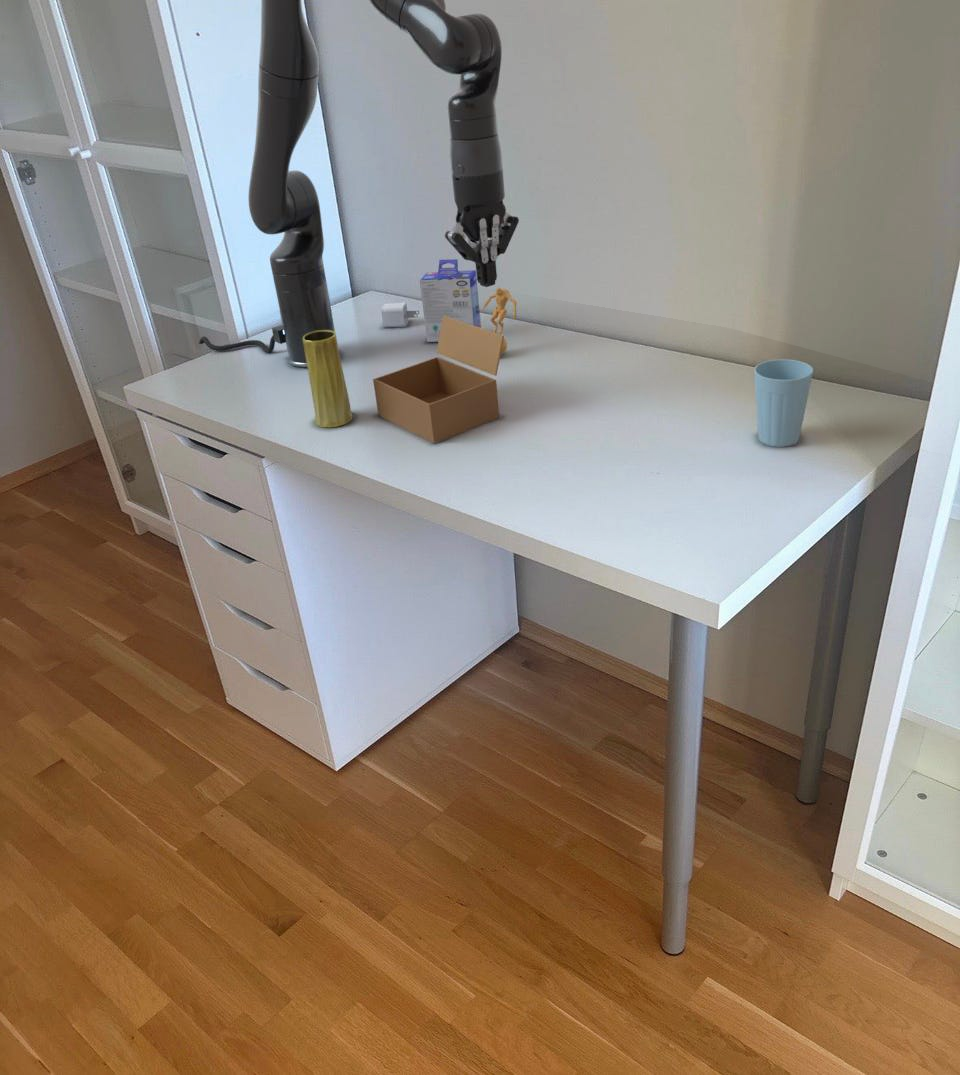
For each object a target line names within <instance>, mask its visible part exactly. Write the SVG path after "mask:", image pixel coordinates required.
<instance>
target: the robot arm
mask: <svg viewBox="0 0 960 1075" xmlns="http://www.w3.org/2000/svg"><path fill="white" fill-rule="evenodd" d="M367 2H368V3H369V5H371V7H372V8H373V9H374V10H375V11H376V12H377V13H378V14H379V15H381V16H382V17H383V18H384V19H385V20H386V21H388V22H389V23H391V24H392V25H393V26H395V27H396V28H397V29H399V30H400V31H401V32H402V33H404V34H406V35H407V36H408V37H410V38H411V40H412V41H413V43H414V44H415V45H416V47H417V48H418V49H419V50H420V51H421V53H422V54H423V55H424V56H425V58H426V59H427V60H428V61H429V63H431V64H432V65H433V66H434V67H435V68H437V69H438V70H440V71H441V72H443V73H446V74H449V75H452V76H453V75H454V76H459V84H458V89H457V90H456V91H455V92H454V93H453V94H452V95H450V96H449V98H448V100H447V104H446V110H447V111H446V113H447V114H446V115H447V123H448V133H449V160H450V169H451V178H452V190H453V199H454V203H455V205H456V209H457V212H456V215H455V225H454V226H453V227H452V229H451V230H447V231H446V232H445V233H444V237H445V240H447V242H448V243H449V244H450V246H452V247H453V248H454V249H455V250H456V252H457V253H458V254H459V255H460V256H461V258H462V259H463V260H466V261H470V262H473V263H475V264H474V265H475V271H476V278H477V284H478V283H479V285H480V286H481V287H485V288H489V287H491V286H495V285H496V282H497V278H498V273H497V272H498V271H497V262H496V261H497V259H498V257H499V256H500V255H503V254H505V253H506V251H507V249H508V248H509V244H510V242H511V240H512V238H513V235H514V233H515V232H516V229H517V226H518V225H519V221H520V219H519V217H517V216H514V215H511V214H509V213H508V212H507V208H506V205H505V203H504V200H505V197H506V194H505V183H504V182H505V180H504V168H503V155H502V146H501V143H500V138H499V137H500V136H499V128H498V115H497V106H496V104H497V103H496V101H497V96H498V91H499V90H498V89H499V84H500V75H501V68H502V67H501V66H502V55H503V54H502V53H503V52H502V50H503V49H502V48H503V47H502V41H501V36H500V33H499V32H500V31H499V29H498V28H497V26H496V23H495V22H494V21H493V19H492V18H490V17H489V16H488V15H486V14H482V13H471V14H465V15H461V16H460V15H459V16H454V15H452V14H450V13H449V12H447V8H446V7H447V6H446V2H445V0H367ZM260 5H261V6H260V7H261V8H260V9H261V10H260V45H259V46H260V47H259V49H260V50H259V57H258V58H259V59H258V79H257V80H258V81H257V92H258V93H257V115H256V129H255V140H254V141H255V143H254V150H253V158H252V164H251V170H250V178H249V186H248V194H247V195H248V196H247V197H248V198H247V199H248V200H247V202H248V210H249V214H250V217H251V219H252V222H253V223H254V225H255V227H256V228H257V229H258V230H259V231H260V233H261V232H262V233H263V234H265V235H270V236H271V235H272V236H273V235H278V234H282V233H284V234H283V237H282V239H281V241H280V243H279V244H278V245H277V246H276V247H275V249H274V250H273V251H272V252H271V254H270V256H269V264H270V268H271V273H272V279H273V283H274V289H275V293H276V298H277V303H278V308H279V313H280V320H281V325H277V326H273V327H271V331H272V336H271V337H270V340H269V345H268V346H267V345H266V344H265V343H264V342H263V341H261V340H257V339H254V340H253V339H251V340H250V339H249V340H244V341H243V340H242V341H239V342H235V343H231V344H226V345H225V344H224V345H215V344H213V343H212V342H210V339H209V338H208V337H207V336H205V335H203V336H201V337H200V339H199V342H198V344H199V345H203V344H205V346H206V347H207V348H208V349H210V350H212V351H215V352H216V351H217V352H220V351H221V352H223V351H231V350H234V349H238V348H243V347H248V346H258V347H260V348H261V350H262V351H263V352H264V353H265V354H270V353H272V352H273V351H274V350H275V346H276V343H278V344H280V345H282V344H285V345H286V350H287V355H288V362H289V364H290V366H294V367H297V368H308V367H307V362H306V356H305V351H304V345H303V336H304V335H305V334H307V333H309V332H313V331H317V330H332V331H334V332H335V333H336V329H335V322H334V317H333V312H332V306H331V305H332V304H331V299H330V294H329V293H330V292H329V289H328V283H327V276H326V272H325V267H324V259H323V254H324V250H325V238H324V232H323V221H322V213H321V206H320V201H319V195H318V192H317V189H316V187H315V185H314V183H313V181H312V180H311V178H310V177H309V176H308V175H307V174H306V173H305V172H302V171H300V170H298V169H297V170H296V169H295V170H290V164H291V160H292V157H293V153H294V151H295V148H296V147H297V145H298V142H299V140H300V139H301V137H302V135H303V133H304V131H305V129H306V127H307V126H308V124H309V122H310V119H311V118H312V115H313V112H314V110H315V106H316V104H317V97H318V96H317V95H318V83H319V74H320V73H319V72H320V58H319V54H318V53H319V52H318V49H317V46H316V44H315V41H314V38H313V36H312V32H311V31H310V28H309V26H308V24H307V21H306V18H305V16H304V11H303V6H302V0H260ZM466 238H467V240H466Z"/></svg>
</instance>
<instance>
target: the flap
mask: <svg viewBox="0 0 960 1075" xmlns="http://www.w3.org/2000/svg"><path fill="white" fill-rule="evenodd" d="M504 338H505V335H503V334H501V335H500V334H498V332H496V333H494V332H493V331H491V330H489V329H485V328H482V327H481V328H479V327H476V326H473V325H470V324H468V323H465V322H462V321H459V320H456V319H453V318H450V317H447V316H443V319H442V325H441V330H440V336H439V342H437V348H436V354H437V355H441V356H443V357H446V358H449V359H450V360H453V361H456V362H458V363H461V364H463V365H466V366H469V367H471V368H474V369H476V370H479V371H481V372H484V373H486V374H489V375H492V376H495V377H497V375H498V371H499V365H500V359H501V356H502V355H501V350H502V345H503V339H504ZM500 355H501V356H500Z"/></svg>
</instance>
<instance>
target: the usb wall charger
mask: <svg viewBox="0 0 960 1075" xmlns="http://www.w3.org/2000/svg"><path fill="white" fill-rule="evenodd" d="M415 315H416V316H415ZM419 315H420V310H408V306H407V302H395V303H394V302H393V303H392V302H391V303H383V305H382V307H381V317H382V325H383V328H385V329H386V328H387V329H388V328H406V327H407V326H408V323H409V319H415V318H418V317H419Z"/></svg>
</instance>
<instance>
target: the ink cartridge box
mask: <svg viewBox="0 0 960 1075" xmlns="http://www.w3.org/2000/svg"><path fill="white" fill-rule="evenodd" d="M458 261H459V259H458V258H455V259H439V262H438V269H437V270H438V271H430V272H426V273H425V274H424V275H423V276H422V277H421V279H419V285H420V293H421V303H422V312H423V319H424V320H423V321H424V327H425V337H426V343H438V342H439V336H440V330H441V325H442V319H443V316H447V317H450V318H453V319H456V320H459V321H462V322H465V323H468V324H470V325H473V326H476V327H479V328H482V322H481V311H480V302H479V290H478V281H477V273H476V269H472V270H468V269H467V270H459V262H458ZM446 264H450V265H454V266H453V267H443V266H444V265H446Z"/></svg>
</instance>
